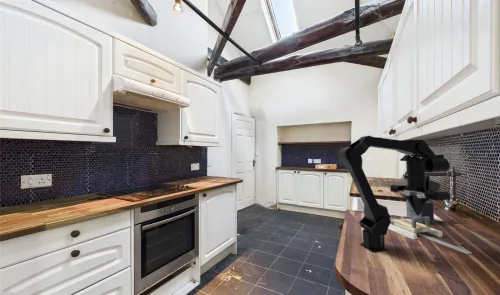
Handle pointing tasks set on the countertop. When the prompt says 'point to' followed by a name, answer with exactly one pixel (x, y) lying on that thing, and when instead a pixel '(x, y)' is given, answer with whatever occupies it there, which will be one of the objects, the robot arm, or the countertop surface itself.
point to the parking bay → (432, 231)
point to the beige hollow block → (414, 225)
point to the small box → (426, 212)
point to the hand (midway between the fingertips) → (418, 214)
